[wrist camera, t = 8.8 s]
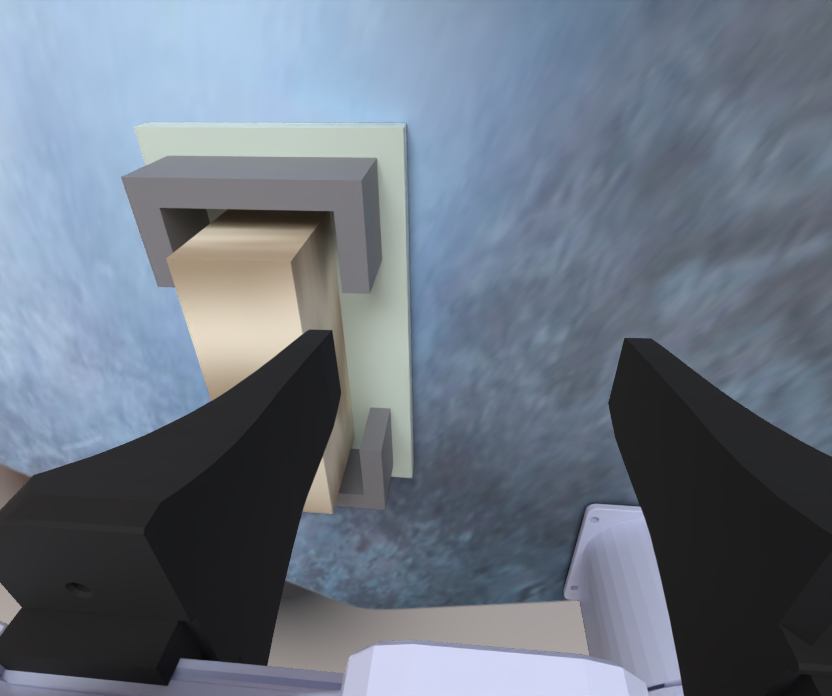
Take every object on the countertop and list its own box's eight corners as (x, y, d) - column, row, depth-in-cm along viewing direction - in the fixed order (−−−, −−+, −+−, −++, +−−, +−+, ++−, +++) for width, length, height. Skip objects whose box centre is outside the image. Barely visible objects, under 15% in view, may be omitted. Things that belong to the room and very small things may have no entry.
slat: (355, 434, 26) (332, 513, 22) (280, 430, 26) (245, 507, 22) (329, 208, 19) (290, 261, 15) (230, 207, 20) (166, 258, 15)
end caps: (413, 464, 28) (405, 524, 25) (244, 453, 29) (215, 510, 26) (406, 123, 18) (391, 147, 15) (148, 122, 19) (80, 144, 16)
